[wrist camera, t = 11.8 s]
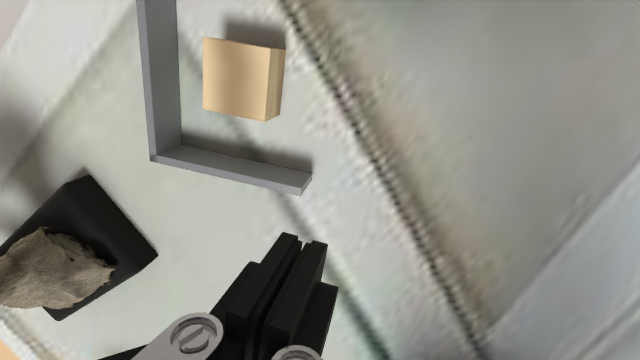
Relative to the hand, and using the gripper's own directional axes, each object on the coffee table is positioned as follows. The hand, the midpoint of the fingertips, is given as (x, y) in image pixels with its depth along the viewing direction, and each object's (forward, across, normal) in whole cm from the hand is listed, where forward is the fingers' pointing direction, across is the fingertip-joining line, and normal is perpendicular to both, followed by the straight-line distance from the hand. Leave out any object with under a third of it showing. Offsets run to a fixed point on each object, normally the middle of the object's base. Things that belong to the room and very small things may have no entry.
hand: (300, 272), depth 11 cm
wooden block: (+20, +12, -4) cm, 24 cm away
